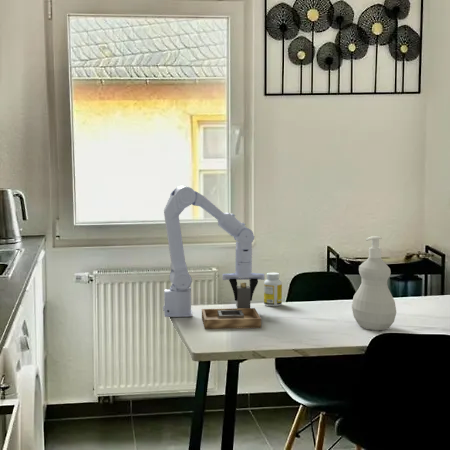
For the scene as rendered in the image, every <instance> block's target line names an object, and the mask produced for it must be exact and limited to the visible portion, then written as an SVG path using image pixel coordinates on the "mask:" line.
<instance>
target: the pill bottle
mask: <svg viewBox="0 0 450 450" xmlns="http://www.w3.org/2000/svg"><path fill="white" fill-rule="evenodd" d="M279 278H280V273H279V272H275V271H274V272H267V273H266V279H265V280H264V281H263V304H264V305H265V306H267V307H279V306H281V305H282V302H283V298H282V297H283V296H282V295H283V294H282V293H283V290H282V289H283V282H282V280H281V279H279Z"/></svg>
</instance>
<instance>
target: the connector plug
mask: <svg viewBox="0 0 450 450" xmlns="http://www.w3.org/2000/svg"><path fill="white" fill-rule="evenodd" d="M250 293H251V288H250V285H247V282H240V285H237V301H235V307H236V308H251V301H250Z"/></svg>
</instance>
